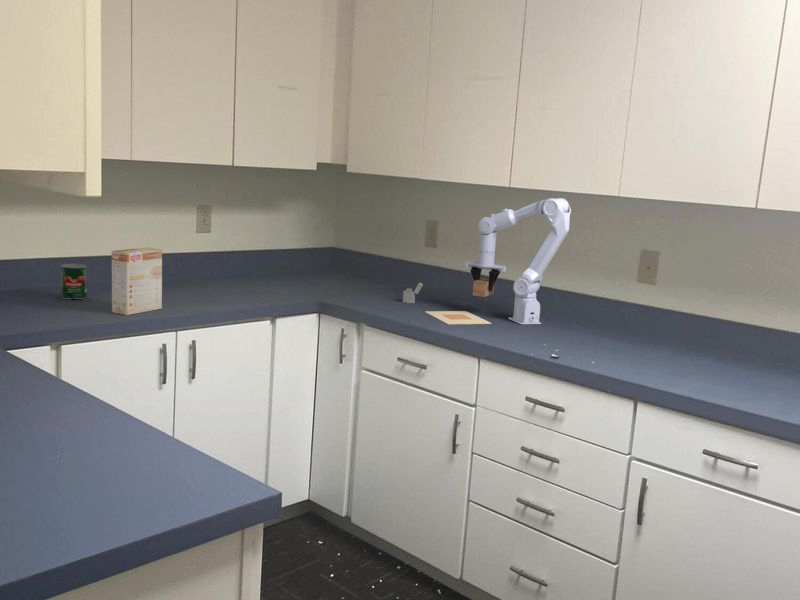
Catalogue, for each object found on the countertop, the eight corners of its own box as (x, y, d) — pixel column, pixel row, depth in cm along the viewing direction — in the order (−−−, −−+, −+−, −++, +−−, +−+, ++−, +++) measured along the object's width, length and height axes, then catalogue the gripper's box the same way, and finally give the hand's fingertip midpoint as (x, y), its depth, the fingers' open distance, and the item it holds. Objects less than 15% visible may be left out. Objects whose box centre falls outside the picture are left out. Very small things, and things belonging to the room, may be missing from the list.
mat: (491, 323, 270) (491, 322, 269) (447, 324, 264) (447, 323, 264) (465, 311, 288) (465, 310, 288) (424, 312, 282) (424, 311, 282)
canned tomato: (68, 301, 262) (68, 267, 260) (56, 297, 267) (56, 264, 265) (91, 298, 268) (91, 266, 266) (79, 295, 273) (79, 263, 271)
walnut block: (481, 292, 289) (483, 278, 288) (493, 293, 287) (494, 279, 286) (472, 295, 281) (473, 281, 280) (484, 296, 279) (485, 282, 278)
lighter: (402, 302, 299) (404, 281, 298) (404, 301, 301) (405, 280, 299) (420, 304, 296) (421, 283, 295) (421, 304, 298) (423, 282, 297)
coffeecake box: (146, 305, 262) (147, 246, 259) (162, 309, 259) (163, 249, 256) (110, 312, 249) (110, 250, 246) (127, 315, 246) (127, 252, 243)
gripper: (510, 252, 282) (506, 290, 284) (471, 248, 288) (468, 285, 290) (503, 254, 276) (500, 293, 278) (464, 249, 282) (461, 287, 284)
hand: (483, 289), depth 284 cm, fingers closed on walnut block, 4 cm apart
